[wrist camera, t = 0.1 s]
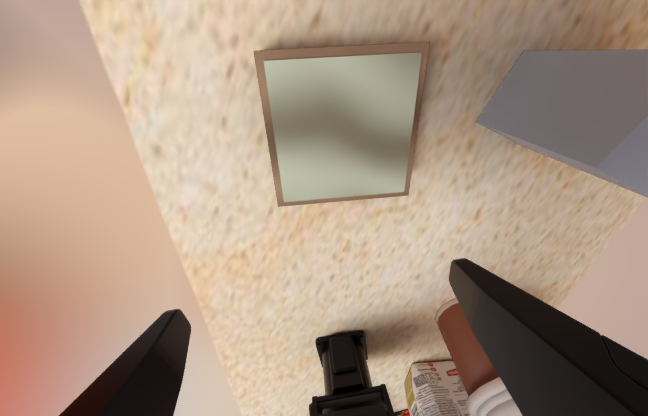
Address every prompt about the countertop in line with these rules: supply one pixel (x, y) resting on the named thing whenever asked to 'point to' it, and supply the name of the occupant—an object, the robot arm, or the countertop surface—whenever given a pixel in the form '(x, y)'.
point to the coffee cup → (473, 365)
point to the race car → (403, 413)
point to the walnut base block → (341, 119)
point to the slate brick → (579, 111)
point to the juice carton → (435, 390)
